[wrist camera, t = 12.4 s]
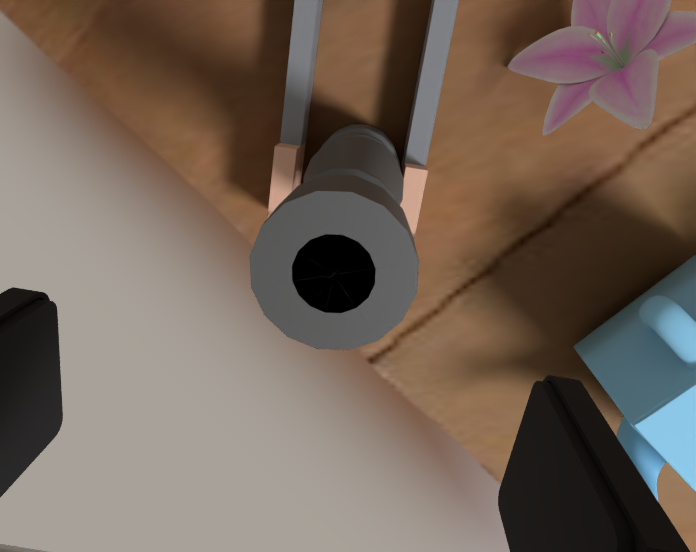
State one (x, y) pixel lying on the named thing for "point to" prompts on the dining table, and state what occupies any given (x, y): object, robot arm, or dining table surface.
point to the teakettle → (652, 374)
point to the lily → (607, 58)
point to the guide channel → (300, 93)
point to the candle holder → (339, 247)
